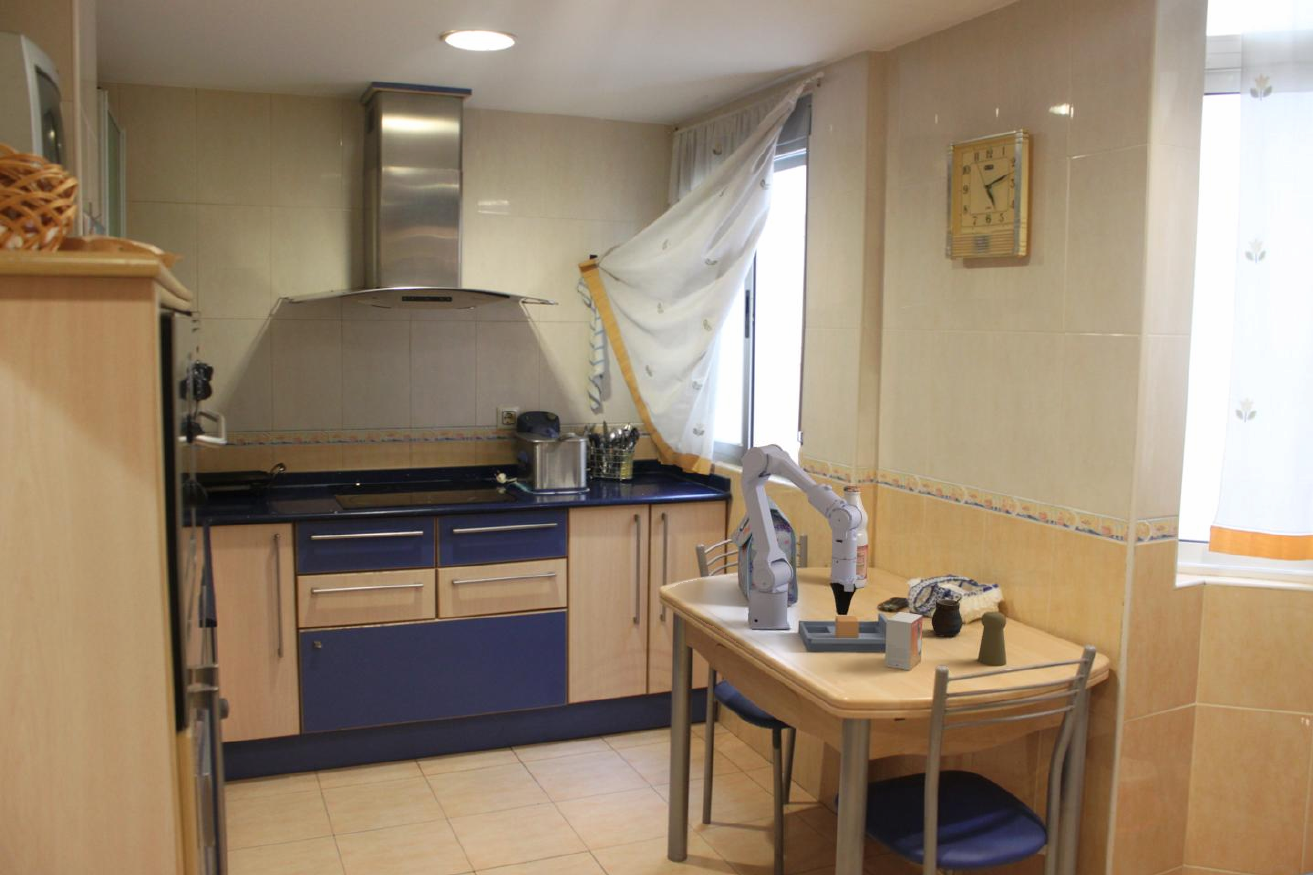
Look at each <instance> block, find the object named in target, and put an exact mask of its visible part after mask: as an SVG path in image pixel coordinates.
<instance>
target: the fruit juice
mask: <svg viewBox="0 0 1313 875" xmlns="http://www.w3.org/2000/svg"><path fill="white" fill-rule="evenodd" d="M843 493H844V495H843V498H842V500H843V499H845V500H846V501H847V504H854V505H856V506H857V507H858V508H859V510H860V511H861V513H862V522H861V524H860V525H859V526H858V527H857V528H858V533H857V561H856V575H860V576H861V580H856V581H855V583H854V584H855V586H856V588H857V589H860V588H861V589H862V588H864V587H866V585H867V582H868V578H867V577H868V549H869V548H868V547H869V535H868V531H867V527H868V522H869V516H868V515H869V514H868V513H867V511H866V510H865V507H864V505H863V502H862V498H861V494H862V487H860V486H856V485H845V486H843ZM832 583H837V582H835V581H833V580H832Z"/></svg>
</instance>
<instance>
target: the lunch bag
mask: <svg viewBox="0 0 1313 875" xmlns="http://www.w3.org/2000/svg"><path fill="white" fill-rule="evenodd" d="M766 496H767V500H768V504H769V509H770V513H771V517H772V521H773V526H774V530H775V534H776V538H777V542H778V547H779V548H780V549H781V550H782V551H783V552H784V553H785V554H786V558H787V560H788V562H789V564H790V565H791V566H792V569H793V578H792V580H791V581H790V582H789V583H788V598H787V606H792V605H795V604H798V601H799V587H798V574H797V554H798V549H797V547H798V546H797V542H798V541H797V535H796V531H795V529H794V527H793V526H792V523H791V522H790V520H789V518H788V516H786V514H785V513H784V512H783V511H782V510H781V508H780V507H779V506H778V505H777V504H776V502H775V501H774V500H772V499H771V496H770V495H768V494H766ZM730 541H731V542H732V543H733V544H734V545H735V546H736V547H737V548H738V549H737V553H738V554H737V579H738V588H739V589H741V591H742V593H743V594H744V597H745V598H746V601H747V603H748V604H749V591H750V590H755V589H757V587H756V586H755V584H754V582H753V572H754V567H753V560H754V558H755V556H756V554H757V551H756V547H755V543H754V538H753V534H752V530H751V526H750V521H749V517H748V513H747V512H746V513H745V514H744V516H743V518H742V519H741V521H739V524H738V525H737V527H736V528H735V529H734V530H733V532H732V533H731V535H730Z"/></svg>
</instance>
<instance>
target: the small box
mask: <svg viewBox="0 0 1313 875" xmlns="http://www.w3.org/2000/svg"><path fill="white" fill-rule="evenodd" d="M923 619H924V616H923V614H915V613H909V612H902V611H898V612H897V613H896V614H894V615H892V616H891V617H889V618H887V624H886V652H885V656H884V657H885V663H884V664H885V667H887V668H893V669H899V670H905V671H911V670H912V669H913V668H914V667H916V666H917V665H918V664H921V662H922V644H923V642H922V638H923Z"/></svg>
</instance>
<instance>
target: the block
mask: <svg viewBox="0 0 1313 875" xmlns="http://www.w3.org/2000/svg"><path fill="white" fill-rule="evenodd" d="M834 621H835V636H836V637H837V638H859V621H860V620H858V619H857V616H855V615H849V616H848V615H835V620H834Z"/></svg>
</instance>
